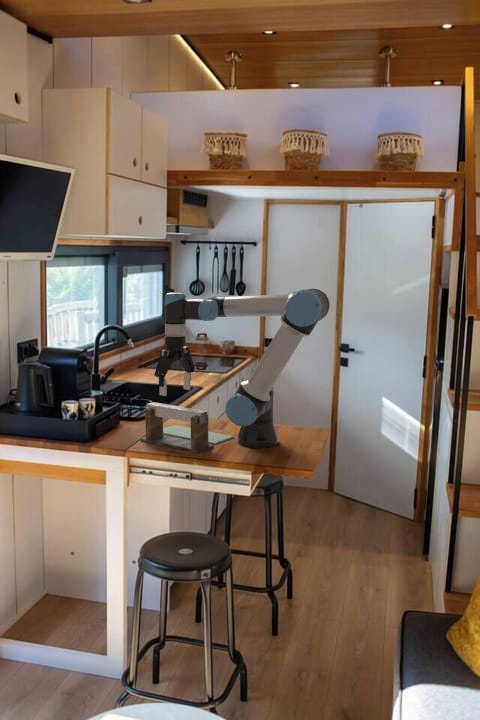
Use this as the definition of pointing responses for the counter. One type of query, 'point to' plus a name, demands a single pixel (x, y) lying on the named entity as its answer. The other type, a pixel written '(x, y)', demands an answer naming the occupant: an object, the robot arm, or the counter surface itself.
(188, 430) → the sage mat
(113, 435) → the counter surface
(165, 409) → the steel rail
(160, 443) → the hook rack
